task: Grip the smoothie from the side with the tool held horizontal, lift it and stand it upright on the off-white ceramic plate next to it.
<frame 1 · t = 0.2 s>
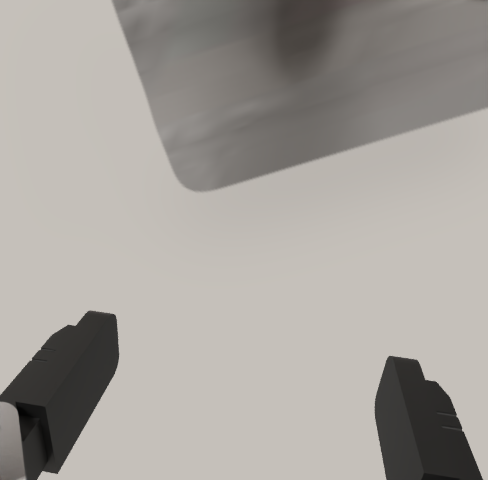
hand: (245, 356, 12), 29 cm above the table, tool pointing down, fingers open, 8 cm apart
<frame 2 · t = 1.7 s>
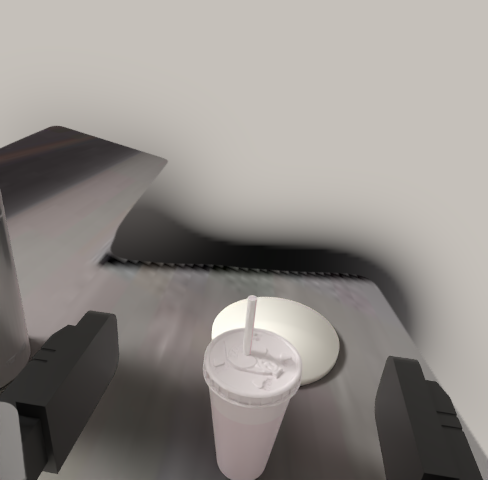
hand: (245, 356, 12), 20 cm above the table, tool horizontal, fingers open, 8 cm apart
plate: (274, 339, 43), on the table
smoothie: (241, 460, 31), on the table
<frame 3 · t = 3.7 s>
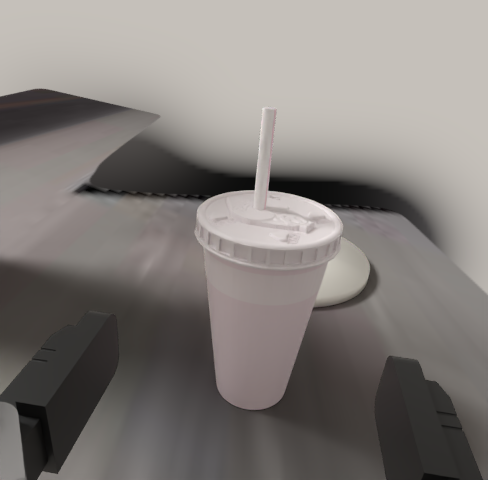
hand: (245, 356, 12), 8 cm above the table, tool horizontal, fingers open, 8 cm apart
plate: (287, 261, 35), on the table
smoothie: (250, 385, 22), on the table
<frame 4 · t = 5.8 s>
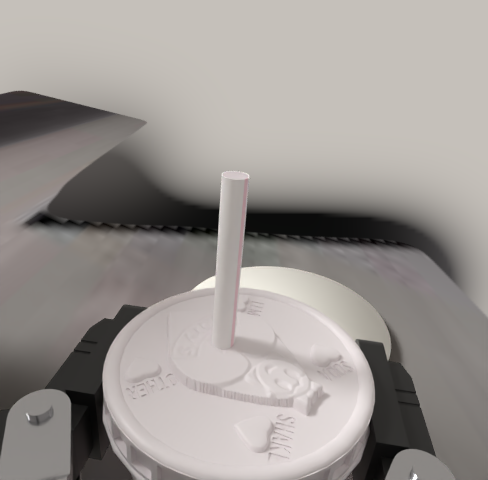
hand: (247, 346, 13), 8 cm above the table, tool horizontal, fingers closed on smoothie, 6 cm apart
plate: (282, 328, 27), on the table
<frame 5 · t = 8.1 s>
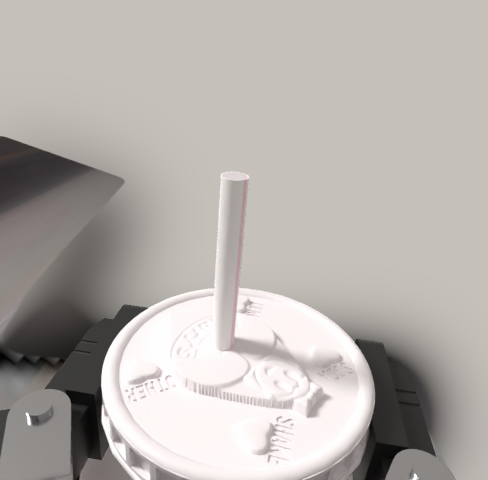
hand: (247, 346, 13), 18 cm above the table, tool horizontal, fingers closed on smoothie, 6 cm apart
when the fingers open (10 cm above the table, at t = 10.5 s): smoothie drops 1 cm, resting on plate.
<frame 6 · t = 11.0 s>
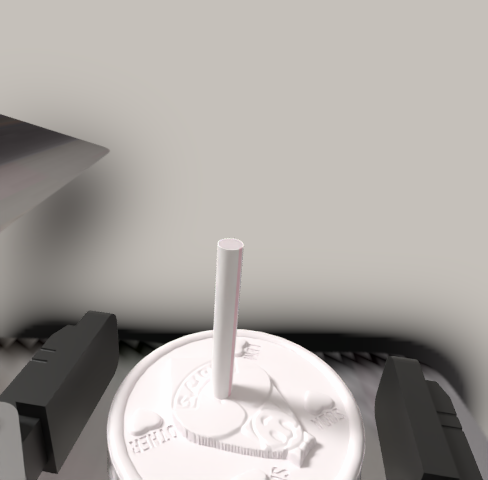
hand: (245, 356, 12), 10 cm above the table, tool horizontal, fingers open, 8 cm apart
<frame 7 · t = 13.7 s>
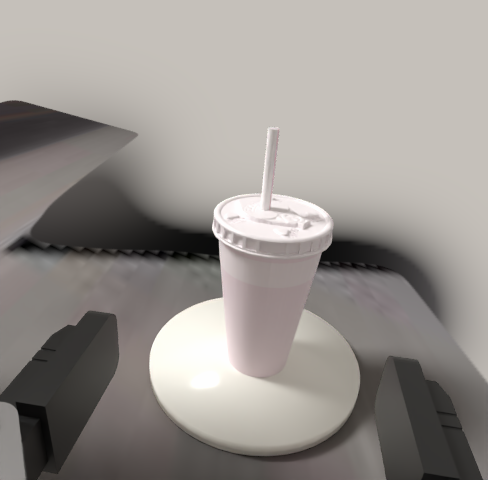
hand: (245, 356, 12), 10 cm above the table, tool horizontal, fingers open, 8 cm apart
plate: (254, 364, 27), on the table
smoothie: (256, 358, 26), point 1 cm above the table, touching plate
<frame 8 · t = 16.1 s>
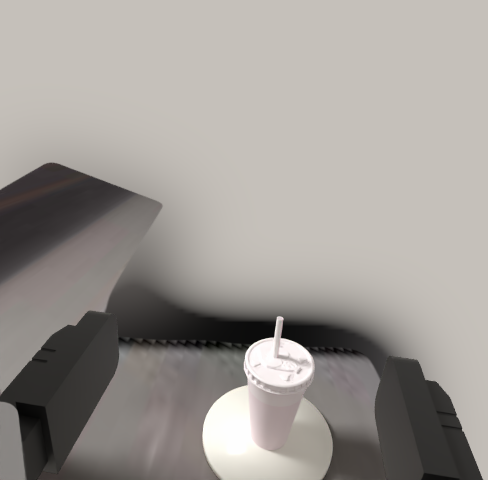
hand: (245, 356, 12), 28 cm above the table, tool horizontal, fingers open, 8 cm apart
plate: (266, 438, 43), on the table
smoothie: (268, 435, 42), point 1 cm above the table, touching plate
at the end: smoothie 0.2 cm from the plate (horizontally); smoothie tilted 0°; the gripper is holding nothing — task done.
